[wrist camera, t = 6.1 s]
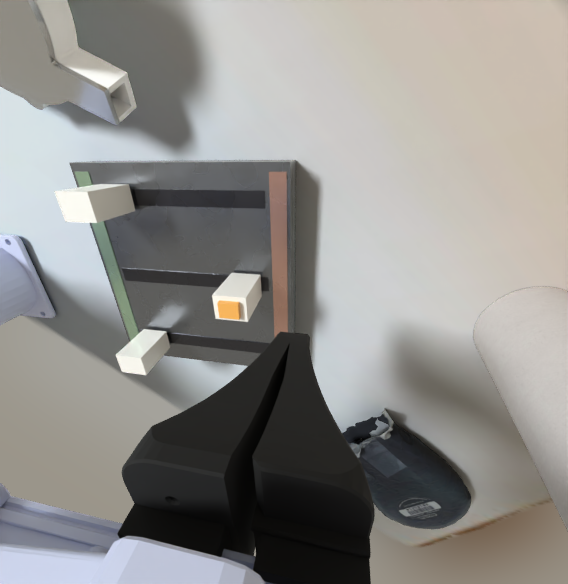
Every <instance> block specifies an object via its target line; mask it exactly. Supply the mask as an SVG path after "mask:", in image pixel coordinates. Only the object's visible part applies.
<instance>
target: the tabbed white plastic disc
mask: <svg viewBox="0 0 568 584" xmlns="http://www.w3.org/2000/svg"><path fill="white" fill-rule="evenodd" d="M0 86H1V87H2V88H4V89H6V90H8V91H10V92H12V93H14V94H16V95H18V96H20V97H22V98H24V99H25V100H27V101H28V102H29V103H30V104H31V105H33V106H34V107H36V108H37V109H40V110H42V109H44V108H45V107H46V106H48V105H58V104H63V103H65V102H67V101H69V102H71V103H73V104H75V105H77V106H79V107H81V108H83V109H85V110H87V111H89V112H91V113H93V114H95V115H97V116H99V117H100V118H102V119H104V120H106V121H108V122H110V123H112V124H114V125H116V126H117V125H118V124H119V123H120V122H122V121H123V120H124V119H125V118H126V117H127V116H128V115H129V114H130V113H131V112H132V111H133V110H135V109H136V108H137V106H136V102H135V99H134V95H133V91H132V88H131V84H130V81H129V77H128V74H127V72H125V71H123V70H121V69H119V68H117V67H115V66H114V65H112V64H110V63H108V62H106V61H104V60H102V59H100V58H98V57H96V56H94V55H93V54H91V53H89V52H87V51H85V50H83V49H81V48H80V47H79V46H78V44H77V35H76V30H75V25H74V21H73V17H72V14H71V10H70V7H69V4H68V1H67V0H0Z"/></svg>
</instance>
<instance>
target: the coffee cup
mask: <svg viewBox="0 0 568 584" xmlns="http://www.w3.org/2000/svg"><path fill="white" fill-rule="evenodd" d="M473 338H474V343H475V345H476V348H477V350H478V352H479V354H480V356H481V358H482V360H483V362H484V364H485V366H486V368H487V370H488V372H489V374H490V376H491V378H492V380H493V382H494V384H495V386H496V388H497V390H498V392H499V394H500V396H501V398H502V400H503V402H504V404H505V406H506V408H507V410H508V412H509V414H510V416H511V418H512V420H513V422H514V424H515V426H516V428H517V430H518V432H519V434H520V436H521V438H522V440H523V442H524V444H525V446H526V448H527V450H528V452H529V454H530V456H531V458H532V460H533V462H534V464H535V466H536V468H537V470H538V472H539V474H540V476H541V478H542V480H543V482H544V484H545V486H546V488H547V490H548V492H549V494H550V496H551V498H552V500H553V502H554V504H555V506H556V508H557V510H558V512H559V514H560V517H561V518H562V521H563V523H564V525H565V527H566V529H567V531H568V291H566V290H563V289H559V288H554V287H531V288H525V289H521V290H518V291H515V292H512V293H509V294H507V295H505V296H503V297H501V298H499V299H498V300H496V301H495V302H493V303H492V304H491V305H490V306H488V307H487V308H486V309H485V310H484V311H483V313H482V314H481V315H480V317H479V318H478V320H477V322H476V324H475V327H474V332H473Z"/></svg>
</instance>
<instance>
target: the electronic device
mask: <svg viewBox="0 0 568 584" xmlns="http://www.w3.org/2000/svg"><path fill="white" fill-rule="evenodd" d="M384 409H385V408H384ZM382 413H383V414H382V415H381V416H380V417H375V418H373V417H371V418H370V419H368V420H367V421H362V422H359V423H356V424H355V426H351V427H349V428H347V431H346V432H344V433H342V434H343V436H344V438H345V439H346V441H347V443H348V444H349V446H350V447H351V449H352V450H353V452H354V453H355V454H356V456H357V457H358V459H359V460H360V462H361V463H362V466H363V469H364V472H365V475H366V478H367V481H368V484H369V487H370V491H371V495H372V499H373V503H374V504H375V505H376V507H377V508H378V509H379V510H380V511H381V512H382V513H383V514H384V515H385V516H387V517H388V518H390V519H392V520H394V521H397V522H399V523H401V524H403V525H407V526H411V527H415V528H423V529H439V528H444V527H447V526H449V525H452V524H454V523H456V522H457V521H458V520H459V519H461V518H462V517H463V516H464V515H465V514H466V513H467V511H468V509H469V507H470V504H471V495H470V493H469V491H468V489H467V487H466V486H465V485H464V483H463V481H462V479H461V478H460V476H459V475H458V474H457V473H456V472H455V471H454V470H453V469H452V467H451V466H450V465H449V464H448V463H447V462H446V461H445V460H444V459H442V458H441V457H439V456H438V455H437V454H436V453H434V452H433V451H432V450H431V449H429V448H428V447H427V446H426V445H425V444H423V443H422V442H421V441H420V440H419V439H418V438H416V437H414V436H413V435H411V434H409V433H408V432H406V431H405V430H404V429H402V428H401V427H398V426H397V425H396V424H394V421H393V420H392V419H391V418H390V416H389V414H388V413H387V412H386V410H385V411H383V412H382ZM377 418H378V420H379V421H382V422H384V423H386V424H388V425H389V427H390V428H389V430H388V431H386V432H385V433H383V434H382V435H379V436H373V437H371V436H370V434H369V433H370V432H371V431H372V430H376V429H377V427H378V426H377V425H376V424H375V421H376V420H377ZM360 438H362V439H363V441H362V443H361V439H360ZM359 439H360V440H359ZM357 440H358V441H357ZM354 441H356V442H354ZM352 442H353V443H352ZM358 444H359V445H358Z"/></svg>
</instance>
